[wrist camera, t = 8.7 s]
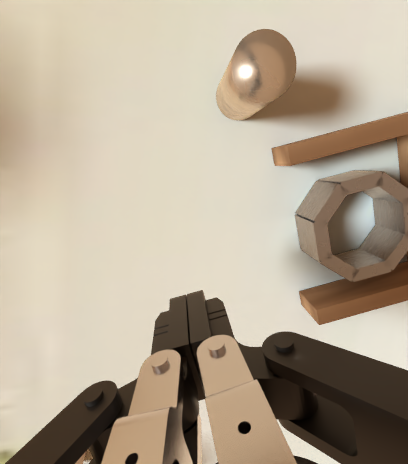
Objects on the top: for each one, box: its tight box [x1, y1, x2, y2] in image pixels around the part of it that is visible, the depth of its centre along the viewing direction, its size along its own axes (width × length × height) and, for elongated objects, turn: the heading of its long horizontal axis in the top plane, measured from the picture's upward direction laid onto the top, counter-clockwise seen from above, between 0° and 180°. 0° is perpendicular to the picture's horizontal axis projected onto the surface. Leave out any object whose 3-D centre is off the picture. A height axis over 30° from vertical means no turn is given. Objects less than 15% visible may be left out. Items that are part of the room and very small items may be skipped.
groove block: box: [272, 112, 408, 325], centre depth 20 cm, size 12×10×3 cm
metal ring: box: [295, 170, 408, 282], centre depth 20 cm, size 7×7×3 cm
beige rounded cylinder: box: [216, 29, 296, 120], centre depth 16 cm, size 3×3×6 cm
